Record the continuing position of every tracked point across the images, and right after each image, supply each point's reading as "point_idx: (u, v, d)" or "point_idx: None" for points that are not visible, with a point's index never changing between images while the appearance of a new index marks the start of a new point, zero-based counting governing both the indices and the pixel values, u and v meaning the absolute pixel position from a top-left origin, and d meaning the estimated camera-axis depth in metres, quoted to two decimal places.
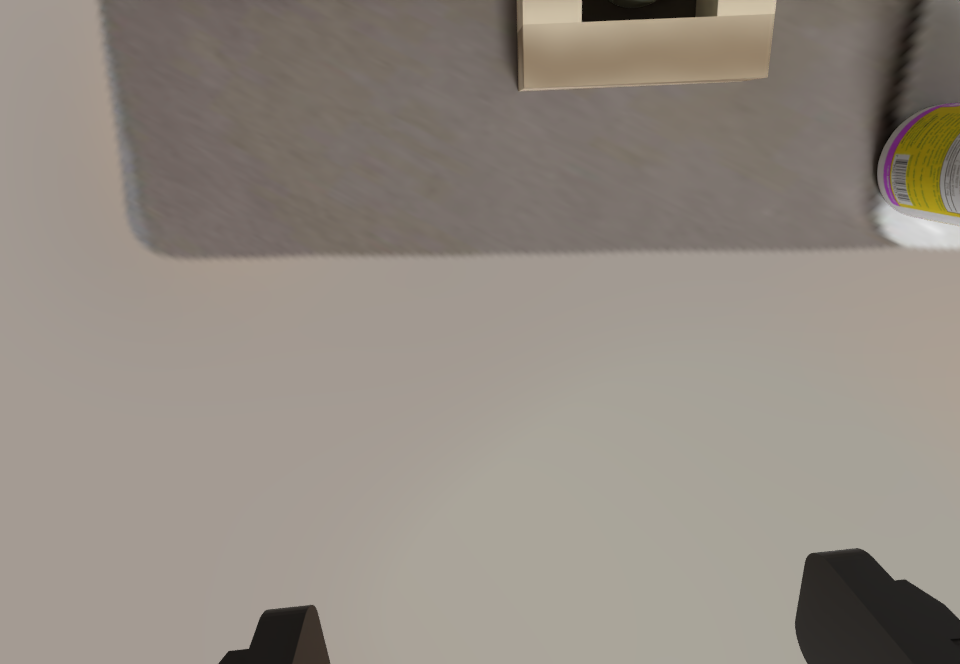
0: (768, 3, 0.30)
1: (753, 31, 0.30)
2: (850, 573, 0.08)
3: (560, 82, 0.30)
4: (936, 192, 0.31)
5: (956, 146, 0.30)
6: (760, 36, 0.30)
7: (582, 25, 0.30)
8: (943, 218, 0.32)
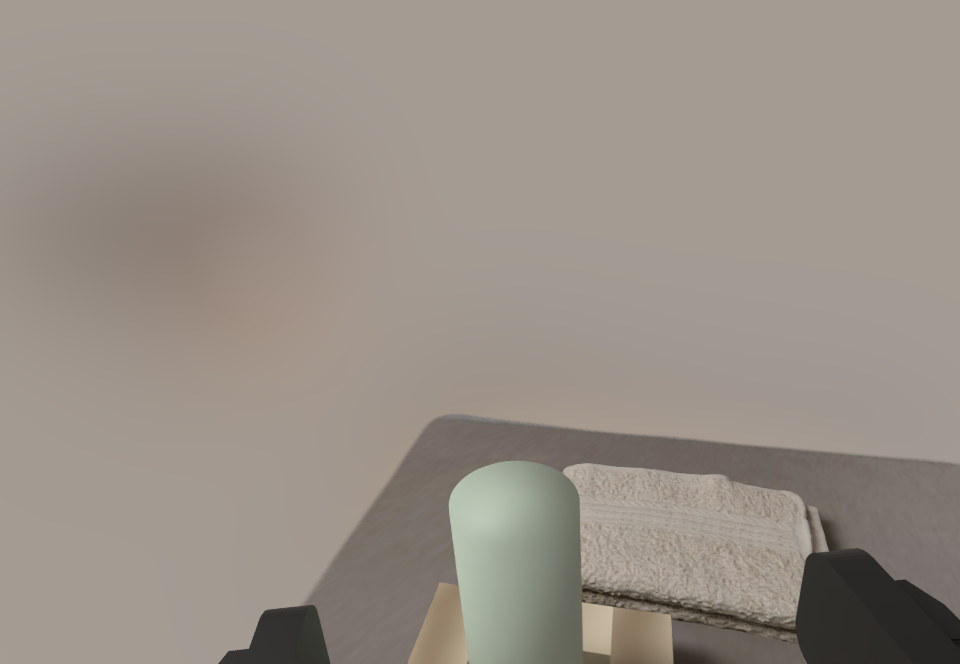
0: None
1: None
2: (850, 573, 0.08)
3: (432, 609, 0.32)
4: None
5: None
6: None
7: None
8: None
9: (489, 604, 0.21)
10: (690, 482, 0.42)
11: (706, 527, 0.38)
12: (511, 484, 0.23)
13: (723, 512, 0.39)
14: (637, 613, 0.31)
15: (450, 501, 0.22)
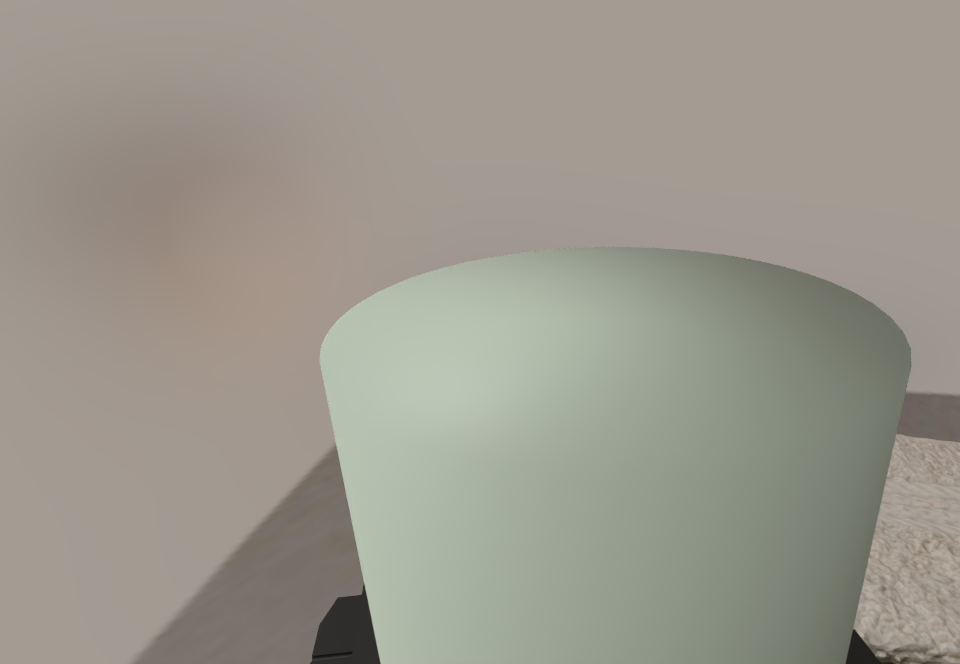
0: None
1: None
2: None
3: None
4: None
5: None
6: None
7: None
8: None
9: None
10: None
11: None
12: (570, 284, 0.06)
13: (898, 480, 0.22)
14: None
15: (337, 326, 0.06)
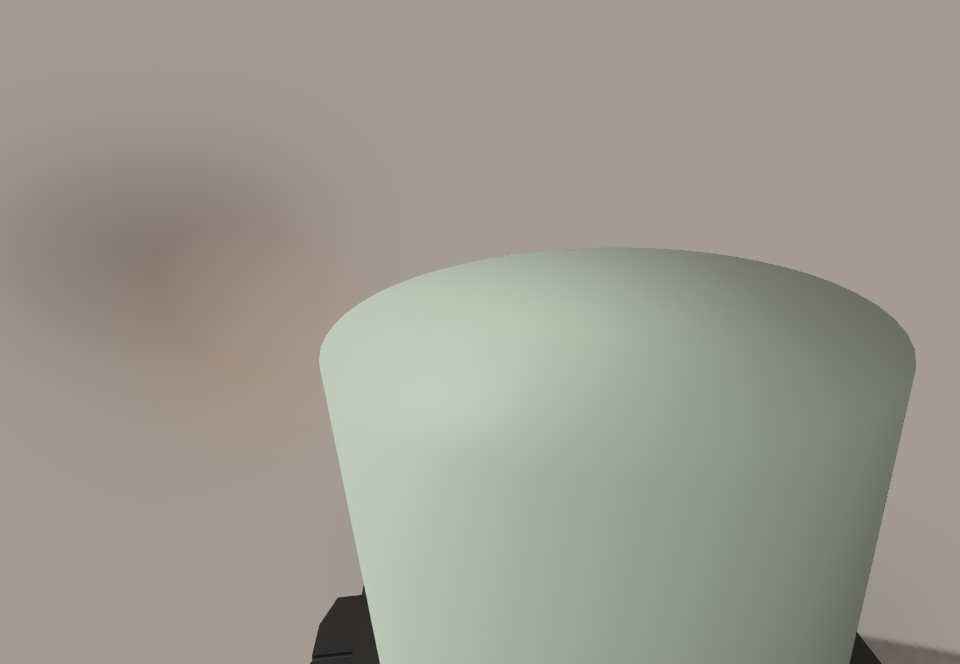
0: None
1: None
2: None
3: None
4: None
5: None
6: None
7: None
8: None
9: None
10: None
11: None
12: (571, 284, 0.06)
13: None
14: None
15: (336, 327, 0.06)
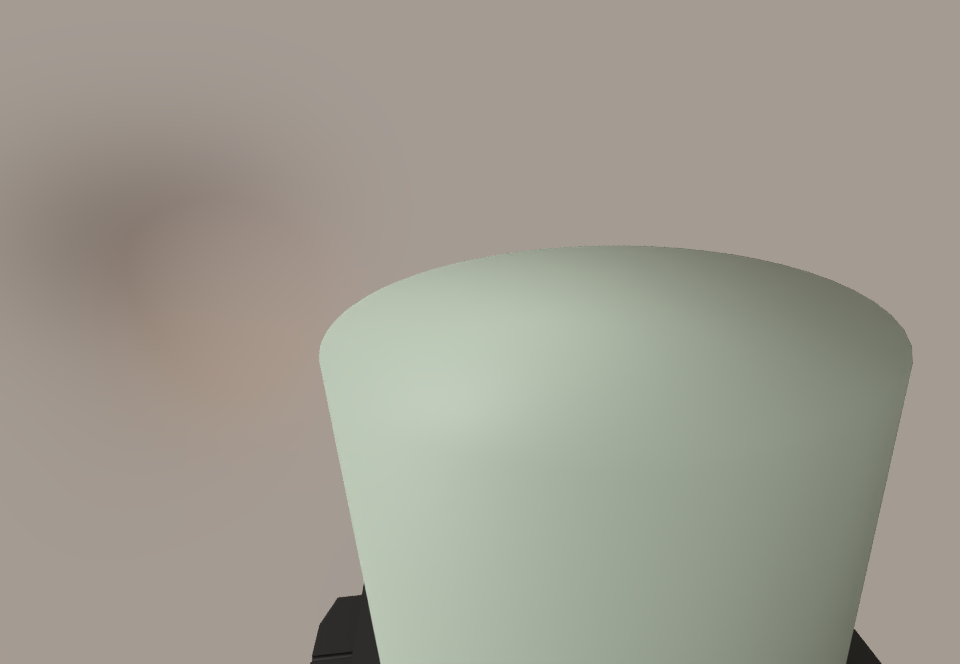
0: None
1: None
2: None
3: None
4: None
5: None
6: None
7: None
8: None
9: None
10: None
11: None
12: (570, 282, 0.06)
13: None
14: None
15: (336, 324, 0.06)
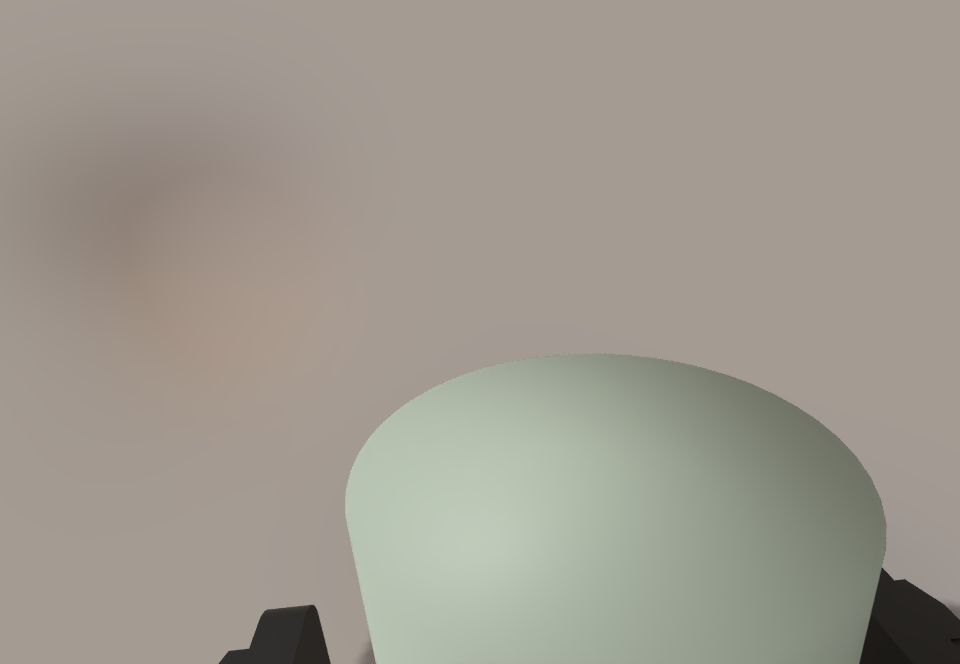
0: None
1: None
2: None
3: None
4: None
5: None
6: None
7: None
8: None
9: None
10: None
11: None
12: (575, 410, 0.07)
13: None
14: None
15: (358, 463, 0.06)
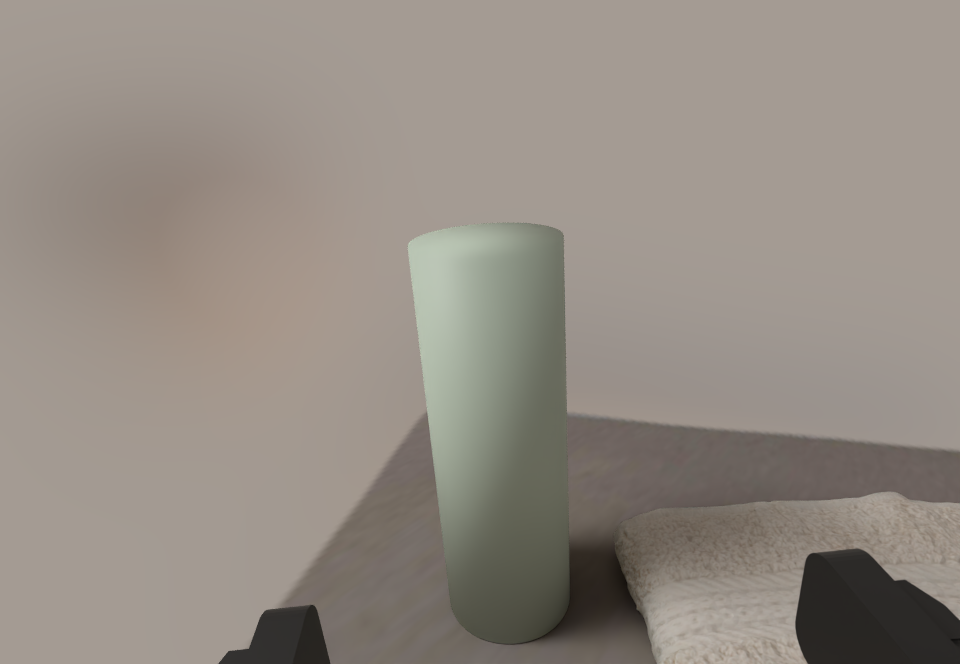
0: None
1: None
2: (850, 573, 0.08)
3: None
4: None
5: None
6: None
7: None
8: None
9: (453, 350, 0.18)
10: (849, 514, 0.24)
11: (952, 603, 0.20)
12: (483, 232, 0.19)
13: (952, 564, 0.21)
14: None
15: (410, 243, 0.19)
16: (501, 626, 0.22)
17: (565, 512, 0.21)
